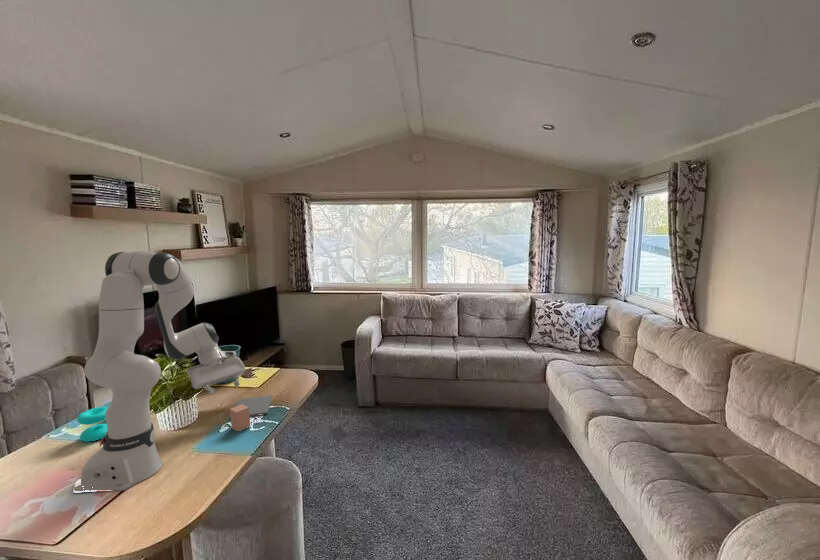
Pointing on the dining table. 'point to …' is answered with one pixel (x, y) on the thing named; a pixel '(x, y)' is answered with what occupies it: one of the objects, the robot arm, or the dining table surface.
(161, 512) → the dining table surface
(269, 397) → the slate board
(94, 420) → the donuts
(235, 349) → the flower pot
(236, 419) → the terracotta block
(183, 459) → the dining table surface
